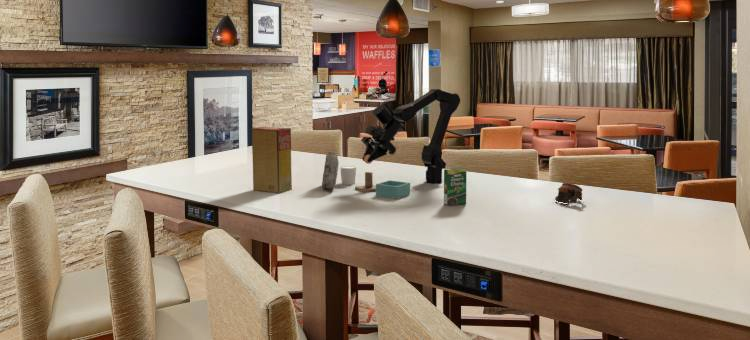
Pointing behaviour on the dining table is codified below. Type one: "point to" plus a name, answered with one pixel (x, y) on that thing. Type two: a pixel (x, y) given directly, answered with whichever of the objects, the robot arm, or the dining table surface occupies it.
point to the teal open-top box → (393, 189)
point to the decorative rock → (330, 171)
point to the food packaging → (271, 159)
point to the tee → (367, 183)
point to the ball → (367, 159)
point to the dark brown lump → (569, 193)
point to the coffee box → (454, 186)
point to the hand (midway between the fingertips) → (365, 160)
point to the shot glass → (348, 174)
